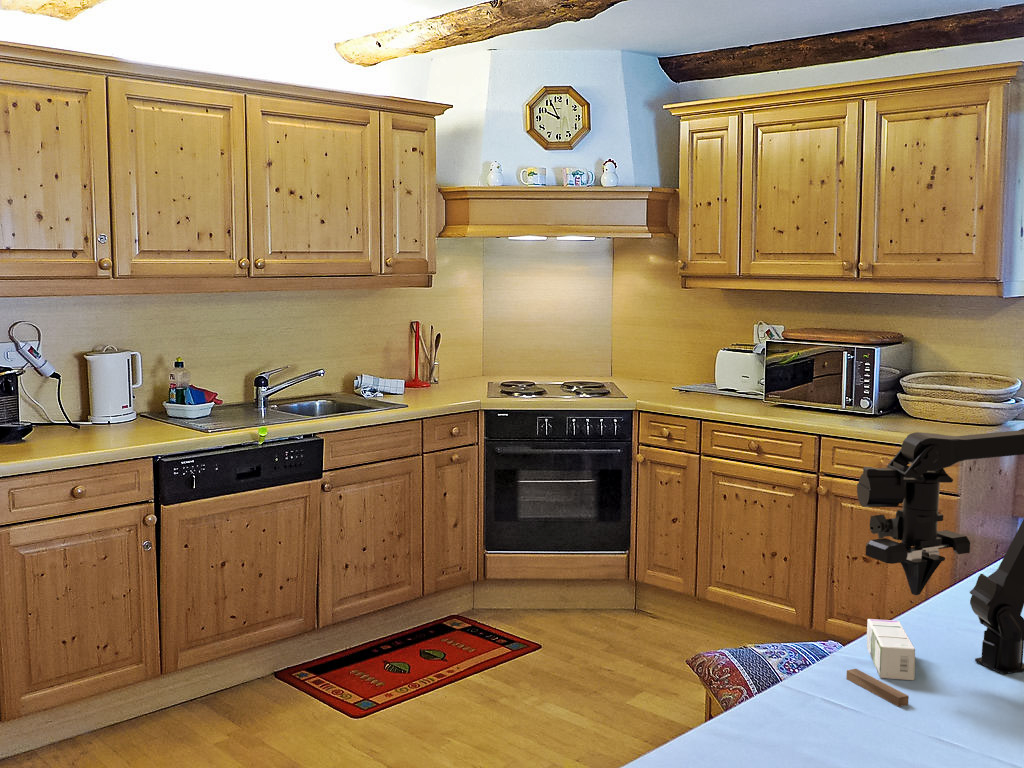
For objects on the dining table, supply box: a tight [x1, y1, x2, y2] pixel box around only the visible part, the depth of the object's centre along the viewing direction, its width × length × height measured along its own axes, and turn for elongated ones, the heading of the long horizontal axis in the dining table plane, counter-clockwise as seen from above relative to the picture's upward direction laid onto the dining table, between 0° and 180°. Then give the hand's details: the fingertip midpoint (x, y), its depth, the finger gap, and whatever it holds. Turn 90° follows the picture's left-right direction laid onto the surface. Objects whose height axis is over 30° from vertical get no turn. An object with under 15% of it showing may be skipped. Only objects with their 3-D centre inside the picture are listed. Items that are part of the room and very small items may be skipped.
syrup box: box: [866, 618, 916, 681], centre depth 182 cm, size 6×6×14 cm
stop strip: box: [845, 668, 910, 708], centre depth 171 cm, size 2×12×2 cm, turn 23°
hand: (915, 594), depth 180 cm, fingers closed
